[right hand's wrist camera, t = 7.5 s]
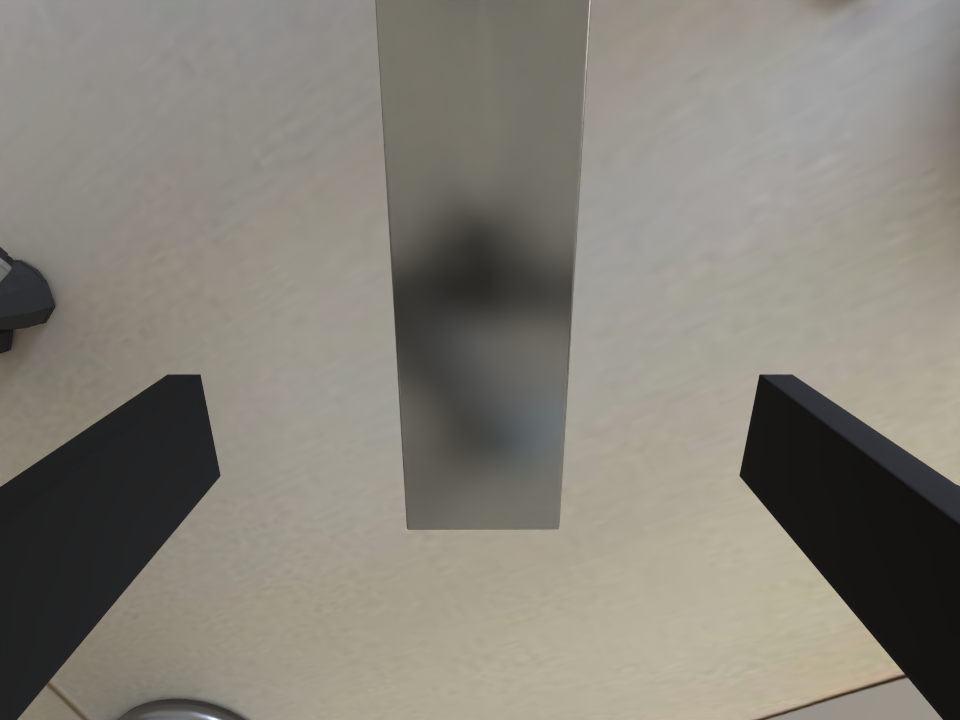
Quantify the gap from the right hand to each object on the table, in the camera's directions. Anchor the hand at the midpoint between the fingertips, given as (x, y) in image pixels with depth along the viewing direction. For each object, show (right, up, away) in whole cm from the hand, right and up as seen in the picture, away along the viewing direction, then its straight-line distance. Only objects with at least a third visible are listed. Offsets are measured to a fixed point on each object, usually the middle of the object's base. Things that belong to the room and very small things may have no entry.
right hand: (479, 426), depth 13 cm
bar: (0, +12, +6) cm, 13 cm away
